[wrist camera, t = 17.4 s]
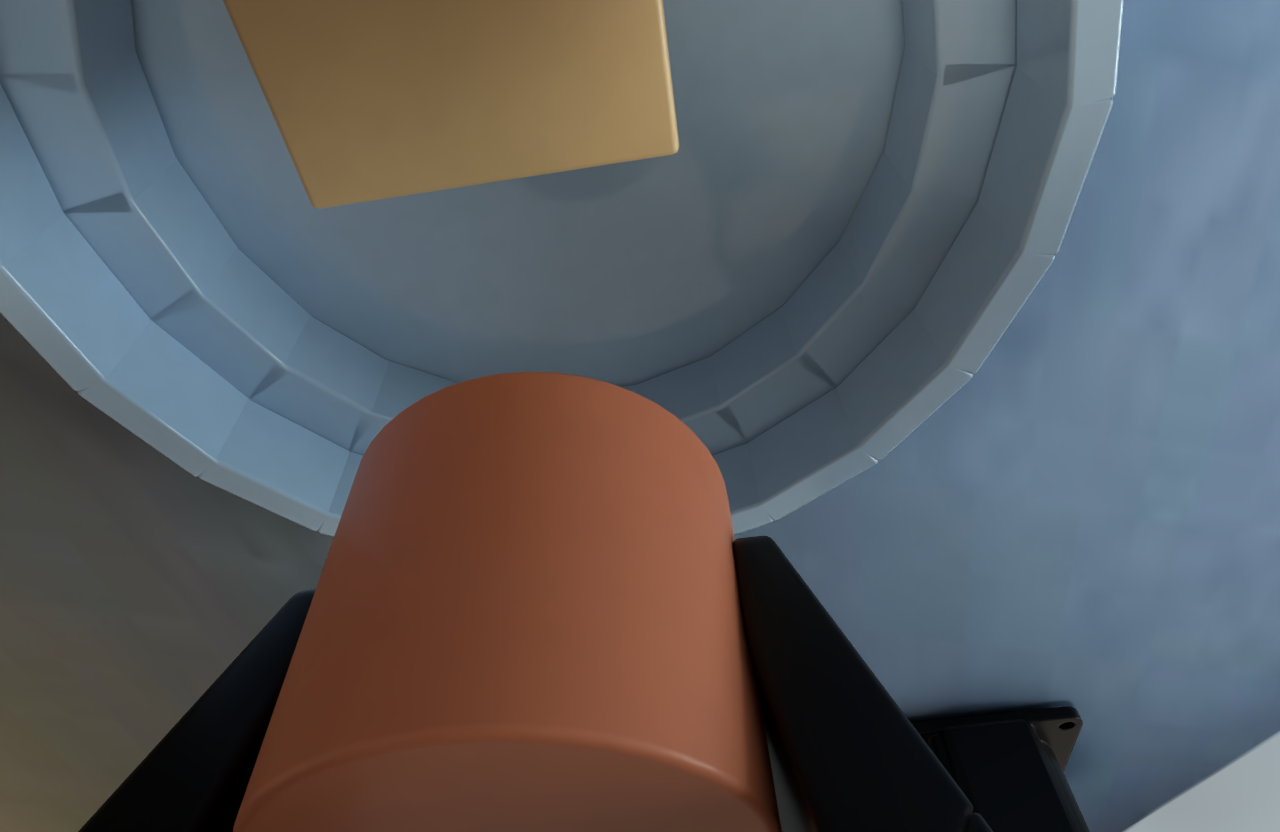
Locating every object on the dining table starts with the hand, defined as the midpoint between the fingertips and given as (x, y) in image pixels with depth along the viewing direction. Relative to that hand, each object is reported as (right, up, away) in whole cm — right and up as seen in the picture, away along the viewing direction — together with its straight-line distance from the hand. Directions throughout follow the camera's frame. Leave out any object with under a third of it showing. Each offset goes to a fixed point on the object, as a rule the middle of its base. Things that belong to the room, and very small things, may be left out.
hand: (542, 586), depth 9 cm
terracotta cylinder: (0, +1, +1) cm, 1 cm away
